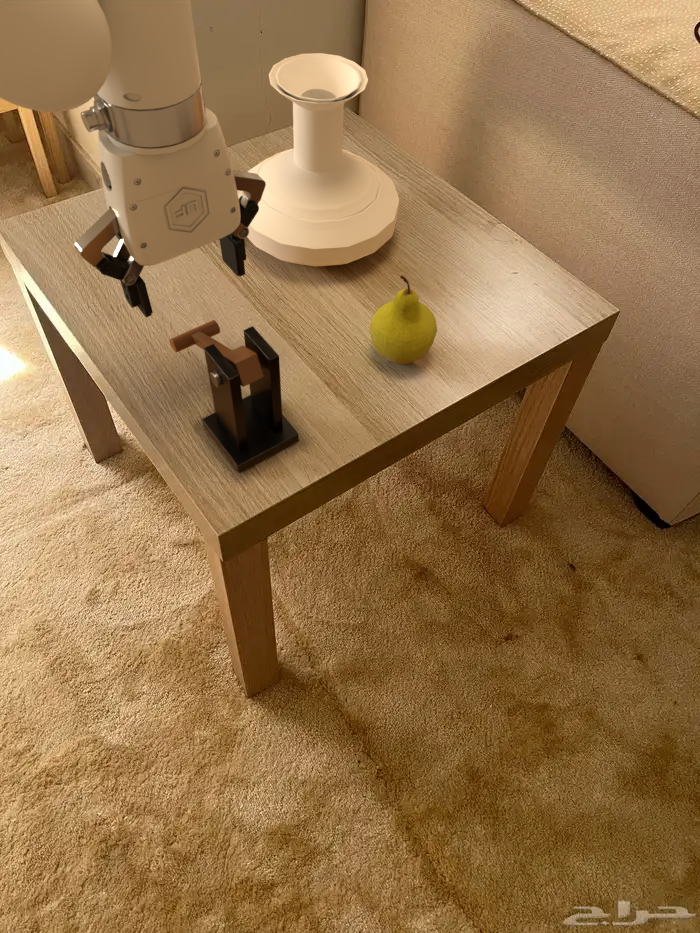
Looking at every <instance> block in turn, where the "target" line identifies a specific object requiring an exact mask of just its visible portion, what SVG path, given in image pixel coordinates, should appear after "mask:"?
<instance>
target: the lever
mask: <svg viewBox="0 0 700 933" xmlns="http://www.w3.org/2000/svg"><path fill="white" fill-rule="evenodd" d="M220 333H221V329H220V325H219V323H218V322H217V321H216V320H215V319H212V320H210V321H207V322H206V323H203V324H201V325H198V326H197V327H193V328H192V329H189V330H187V331H185V332H182V333H180V334H178V335H176V336H173V337H172V338H170V339H169V344H170V347H171V348H172V350H173V351H174V352H175V353H179V352H181V351H184V350H186V349H188V348H190V347H193V346H197V347H198V348H200V349H202V350H203V351H204V348H205V347H208V346H210V345H212V344H214V345H215V346H216V347H217V348H218V350H219V351H220V352H221V353H222V355H223V356H224V357H225V358H226V359H227V361H228V362H229V363H230V364H231V365H232V367H233V368H234V369H235V370H236V371H237V373H238V374H239V376H240V384H241V387H243V388H244V387H246V386H248V385H249V384H250V383H252V382H255V381H257V380H259V379H261V378H263V377H264V375H263V372H262V368H261V365H260V362H259V359H258V356H257V353H255V352H253V351H252V350H250V349H248V348H247V347H245V345H241V346H239V347H236V348H234V349H231V348H230V347H228V346H226V345H224V344H223V343H222V342H219V341H218V340H216V339H215V338H213V337H214V336H217V335H219V334H220Z"/></svg>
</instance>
